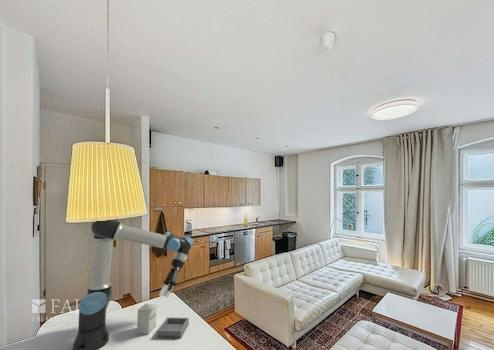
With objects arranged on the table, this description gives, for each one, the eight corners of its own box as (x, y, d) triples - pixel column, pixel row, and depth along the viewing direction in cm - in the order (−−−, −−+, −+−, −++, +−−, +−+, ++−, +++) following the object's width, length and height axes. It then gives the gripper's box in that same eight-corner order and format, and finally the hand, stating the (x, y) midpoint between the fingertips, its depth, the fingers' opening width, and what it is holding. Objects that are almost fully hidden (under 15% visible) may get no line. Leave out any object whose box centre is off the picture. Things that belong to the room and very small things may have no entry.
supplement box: (148, 334, 121) (149, 310, 122) (136, 333, 123) (137, 309, 124) (156, 326, 128) (157, 304, 129) (145, 325, 130) (145, 303, 131)
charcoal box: (157, 337, 118) (157, 330, 119) (167, 323, 131) (167, 317, 132) (180, 338, 118) (180, 331, 118) (188, 324, 131) (188, 317, 131)
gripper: (190, 261, 135) (174, 299, 123) (178, 264, 154) (164, 297, 142) (179, 256, 133) (161, 295, 121) (168, 260, 152) (153, 293, 140)
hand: (163, 296), depth 132 cm, fingers open, 13 cm apart
